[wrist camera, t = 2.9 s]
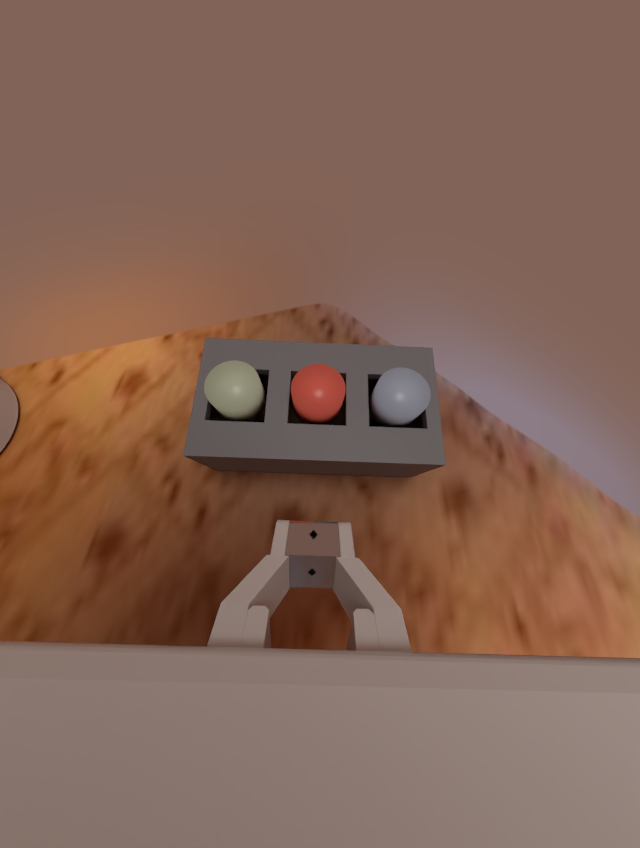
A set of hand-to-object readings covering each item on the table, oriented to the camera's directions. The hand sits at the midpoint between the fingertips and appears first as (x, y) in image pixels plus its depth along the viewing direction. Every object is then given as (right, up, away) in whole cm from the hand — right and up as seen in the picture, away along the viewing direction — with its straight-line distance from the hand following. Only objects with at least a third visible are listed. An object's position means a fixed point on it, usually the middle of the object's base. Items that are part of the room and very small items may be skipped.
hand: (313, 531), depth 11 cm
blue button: (+8, +6, +16) cm, 19 cm away
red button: (0, +7, +16) cm, 17 cm away
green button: (-7, +7, +16) cm, 19 cm away
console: (0, +4, +23) cm, 23 cm away
